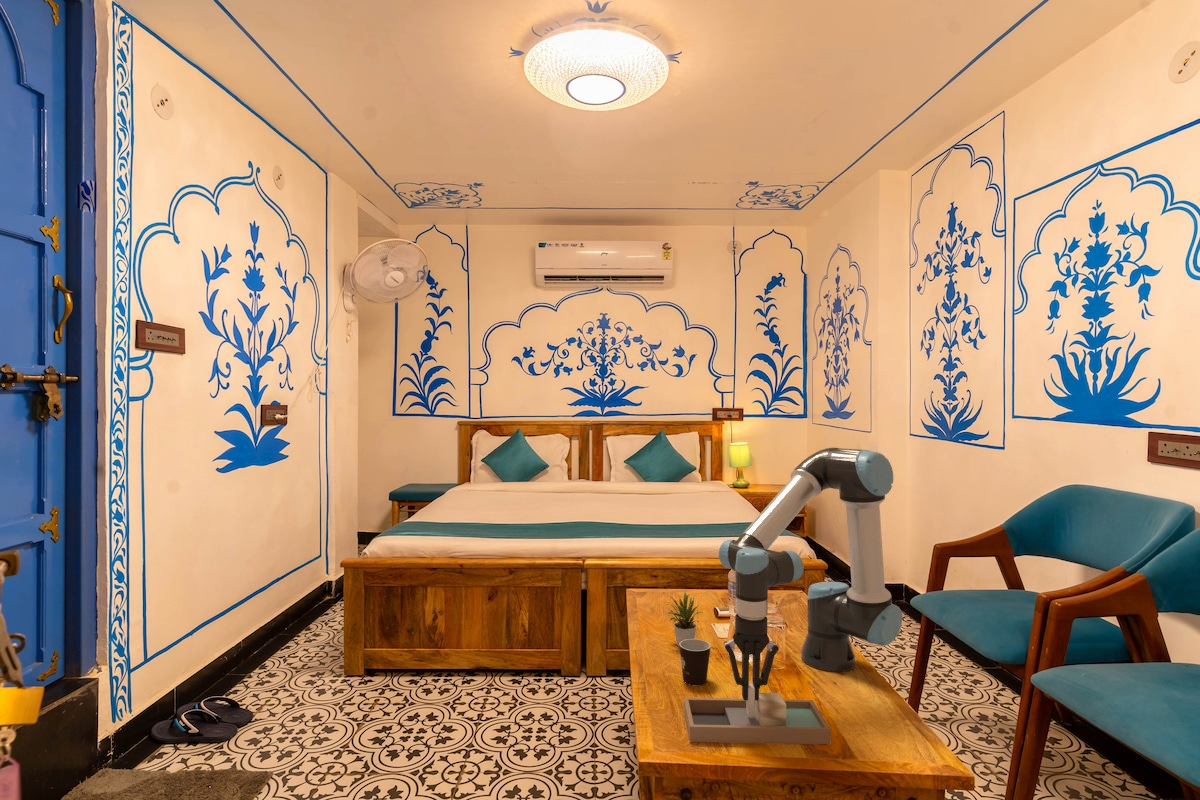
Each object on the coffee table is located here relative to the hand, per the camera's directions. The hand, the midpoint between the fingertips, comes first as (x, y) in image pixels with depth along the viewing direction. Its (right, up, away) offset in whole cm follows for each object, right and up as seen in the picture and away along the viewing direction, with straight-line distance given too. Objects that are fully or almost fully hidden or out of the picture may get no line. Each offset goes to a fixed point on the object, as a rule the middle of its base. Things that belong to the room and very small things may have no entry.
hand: (750, 712), depth 154 cm
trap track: (+1, -3, 0) cm, 4 cm away
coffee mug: (-9, -3, +26) cm, 28 cm away
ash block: (+5, -1, 0) cm, 5 cm away
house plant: (-10, -3, +51) cm, 52 cm away
